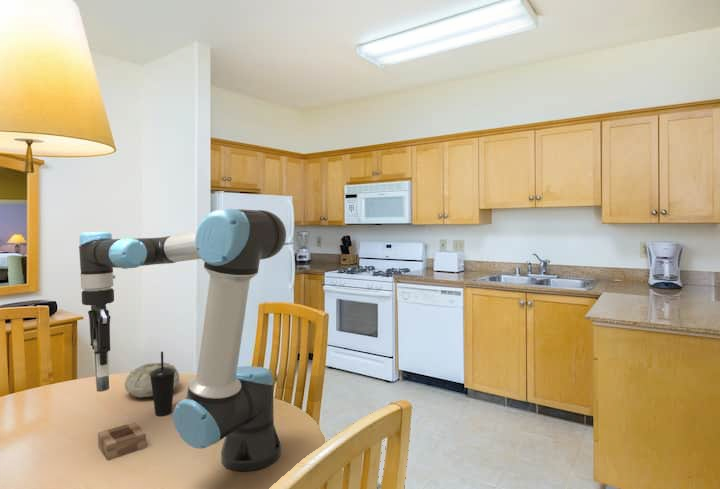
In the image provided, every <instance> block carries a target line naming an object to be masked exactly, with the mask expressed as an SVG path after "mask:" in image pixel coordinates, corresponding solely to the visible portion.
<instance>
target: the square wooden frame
mask: <svg viewBox="0 0 720 489" xmlns="http://www.w3.org/2000/svg"><path fill="white" fill-rule="evenodd" d="M97 441H98V443H97V444H98V449H99V450H100V451H101V453H102V455H103V456H104V458H105V459H106V461H110V460H113V459H116V458H119V457H122V456H125V455H127V454H133V453H135V452H138V451H141V450H143V449H146V448H147V432H145V431H144V430H143V429H142V428H141V426H140V425H139V424H138V423H137V422H135V421H134V422H131V423H127V424H123V425H120V426H116V427H114V428H110V429H106V430H103V431H99V432H98V433H97Z"/></svg>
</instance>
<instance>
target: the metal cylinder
mask: <svg viewBox="0 0 720 489" xmlns="http://www.w3.org/2000/svg"><path fill="white" fill-rule="evenodd" d="M93 343H94V352H97V341H96V339H94V341H93ZM94 356H95V372H96V374H95V381H96V382H95V384H96V392H98V393H99V392H106V391H109V390H110V379H109V378H110V377H109V376H110V375H109V376H104V377H99V378H97V363H96V354H94Z"/></svg>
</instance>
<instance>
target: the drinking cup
mask: <svg viewBox="0 0 720 489" xmlns="http://www.w3.org/2000/svg"><path fill="white" fill-rule="evenodd" d="M160 363H161V367H159V368H157V369H155V370H153V371H151V372H150V373H149V375H150V377H151V384H152V392H153V396H152V399H153V406H154V414H155V416H157V417H165V416H168V415H170V414H172V412H173V401H174V400H173V398H174V389H173V387H174V373H175V369H174V368H170V367H164V366H163V363H164V351H160Z"/></svg>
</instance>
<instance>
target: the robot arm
mask: <svg viewBox="0 0 720 489" xmlns="http://www.w3.org/2000/svg"><path fill="white" fill-rule="evenodd" d="M112 236H113V235H112V233H111V232H109V231H88V232H87V231H86V232H81V233H80V234H79V245H78V249H79V250H78V251H79V252H78V253H79V266H80V289H82V291H81V304H82V305H84V306H90V310H88V312H87V314H88V321H89V336H90V344H89V345H90V347H92V349H91V350H92V360H93V361H92V362H93V375H95V376H96V372H95V356H94V354H96V363H97V378H99V377H104V376H110V365H109V364H110V363H109V352H111V325H110V324H111V315H110V312H109V309H107V306H106V305H107V304H112V303H113V302H114V301H115V290H114V289H113V288H112V287H113V286H114V279H116V275H115V274H114V268H116V269H119V268H120V269H123V270H124V269H125V270H126V269H135V268H139V267H142V266H143V267H145V266H153V265H164V264H165V265H166V264H175V263H179V262H185V261H186V262H187V261H193V260H202V261H203V263H204V264H203V269H204V270H205V271H206V272H207V273H208V275H209V282H208V288H207V297H206V305H205V310H204V311H205V312H204V319H203V326H202V327H203V328H202V335H201V342H200V350H199V355H198V358H199V359H198V364H197V373H196V376H194V377H193V378H191V379H190V381H189V382H188V387H187V395H186V398H183V399H181V400H180V401H179V402H178V403H176V405H175V407H174V409H173V417H172V418H173V425H174V428H175V430H176V432H177V434H178V435H179V437H180V438H181V439H182V440H183V441H184V442H183V443H185V444H186V445H187V446H189V447H192V448H194V449H199V450H202V449H206V448H208V447H210V446H213V445H215V444H218V443H219V442H220V441H221V440H222V439H224V441H223V443H222V444H223V445H222V448H221V451H220V452H221V453H220V455H221V456H220V461H221V464H222V465H223V467H224V468H226V469H229V470H231V471H235V472H251V471H258V470H261V469H265V468H266V467H269V466H270V465H272V464H274V463H275V462H276V461H277V460H278V459H279V458H280V456H281V453H282V449H281V448H282V446H281V445H282V444H281V441H280V438H279V435H278V433H277V430H276V427H275V424H274V385H275V384H274V380H273V379H274V378H273V376H274V375H273V372H272V370H270V369H268V368H266V367H263V366H262V367H261V366H255V365H254V366H253V365H248V366H247V365H246V366H244V365H243V366H238V364H239V357H240V351H241V350H240V349H241V344H242V338H243V329H244V323H245V316H246V309H247V303H248V297H249V296H248V294H249V288H250V281H251V279H253V278H254V277H255V276H257V275H258V274H259V269H260V261H261V260H267V259H270V258H273V257H274V256H276V255H277V254H279V253H280V252H281V250H283V248H284V247H285V244H286V242H287V241H286V240H287V230H286V226H285V224H284V222H283V221H282V219H281V218H280V217H279V216H278V215H277V214H275V213H273V212H270V211H268V210H262V209H260V210H259V209H258V210H257V209H255V210H254V209H242V208H241V209H240V208H225V209H216V210H213V211H211V212H210V213H209V214H207V215H206V216H205V217H203V219H202V220H201V221H200V223H199V224H198V227H197V230H196V231H192V232H187V233H182V234H181V233H180V234H175V235H168V236H167V235H166V236H161V237H141V238H129V237H128V238H115V239H114V238H113V237H112ZM94 339H96V341H97V352H94V343H93V341H94Z"/></svg>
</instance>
